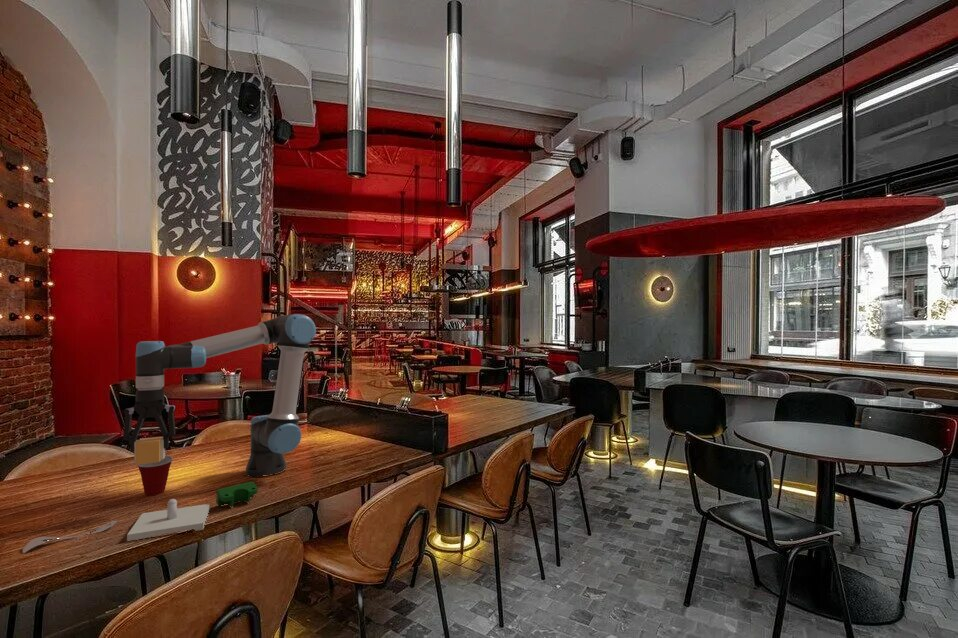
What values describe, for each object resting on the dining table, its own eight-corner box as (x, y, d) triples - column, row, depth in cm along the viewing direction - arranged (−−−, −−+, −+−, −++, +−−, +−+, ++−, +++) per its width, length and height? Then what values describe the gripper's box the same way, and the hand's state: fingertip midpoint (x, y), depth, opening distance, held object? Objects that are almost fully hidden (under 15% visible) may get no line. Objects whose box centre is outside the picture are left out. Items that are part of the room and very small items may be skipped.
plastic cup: (132, 500, 155) (133, 465, 155) (139, 490, 164) (139, 457, 164) (170, 495, 160) (171, 461, 160) (174, 485, 169) (175, 453, 169)
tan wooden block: (163, 456, 151) (163, 436, 151) (159, 462, 145) (159, 440, 145) (140, 459, 148) (140, 438, 148) (135, 464, 143) (135, 442, 143)
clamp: (227, 522, 148) (217, 501, 144) (221, 512, 152) (211, 492, 148) (263, 499, 155) (255, 479, 151) (257, 491, 159) (248, 471, 155)
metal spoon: (114, 512, 136) (118, 515, 133) (114, 523, 136) (119, 527, 133) (19, 540, 121) (22, 545, 118) (20, 553, 121) (23, 559, 118)
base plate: (210, 509, 147) (210, 486, 147) (203, 529, 132) (203, 503, 132) (142, 519, 139) (142, 494, 139) (127, 542, 125) (127, 514, 125)
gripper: (109, 392, 140) (109, 467, 139) (182, 388, 148) (182, 459, 147) (117, 389, 147) (116, 460, 146) (186, 385, 155) (186, 453, 154)
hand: (149, 459), depth 147 cm, fingers closed on tan wooden block, 6 cm apart
